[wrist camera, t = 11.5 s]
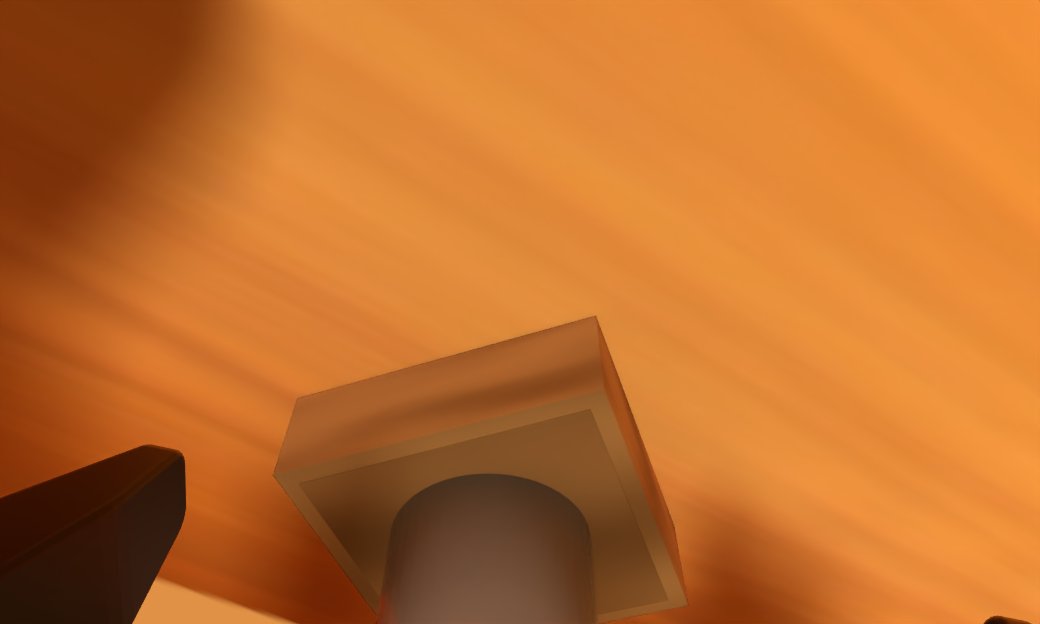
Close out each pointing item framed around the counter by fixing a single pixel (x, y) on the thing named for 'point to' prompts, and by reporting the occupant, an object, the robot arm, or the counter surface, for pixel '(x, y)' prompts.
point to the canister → (488, 556)
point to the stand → (489, 457)
